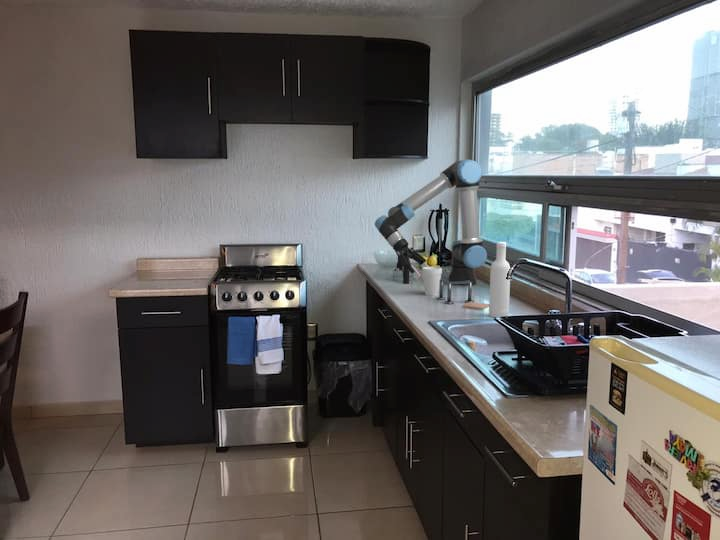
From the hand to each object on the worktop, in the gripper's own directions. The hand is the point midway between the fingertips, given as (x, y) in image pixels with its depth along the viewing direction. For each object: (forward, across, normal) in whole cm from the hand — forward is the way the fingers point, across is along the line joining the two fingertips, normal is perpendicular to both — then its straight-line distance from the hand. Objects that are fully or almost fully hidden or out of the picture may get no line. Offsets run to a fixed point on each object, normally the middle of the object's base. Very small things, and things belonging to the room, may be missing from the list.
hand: (425, 275), depth 280 cm
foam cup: (+9, -1, -4) cm, 10 cm away
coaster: (+28, +14, +16) cm, 35 cm away
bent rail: (+19, +9, +7) cm, 22 cm away
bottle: (+39, +25, +26) cm, 53 cm away
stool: (-14, -31, -27) cm, 43 cm away
